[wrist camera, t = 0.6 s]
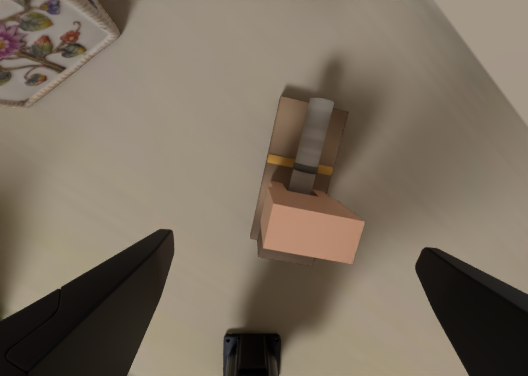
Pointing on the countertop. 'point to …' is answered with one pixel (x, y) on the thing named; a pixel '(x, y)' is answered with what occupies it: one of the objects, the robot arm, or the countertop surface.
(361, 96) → the countertop surface
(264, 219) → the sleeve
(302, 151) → the pipe stand
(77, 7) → the decorative jar
